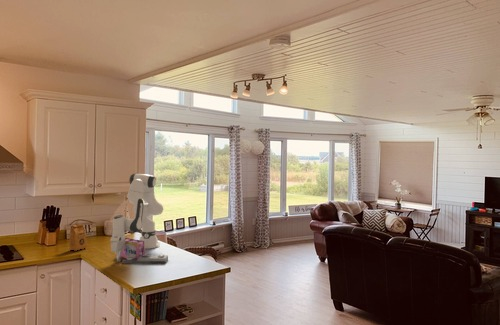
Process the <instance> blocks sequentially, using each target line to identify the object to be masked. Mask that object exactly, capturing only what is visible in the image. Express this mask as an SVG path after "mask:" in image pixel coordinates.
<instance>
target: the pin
mask: <svg viewBox="0 0 500 325" xmlns="http://www.w3.org/2000/svg"><path fill="white" fill-rule="evenodd" d="M116 262H117V263H119V262H122V257H121V249H120V250H119V256H116Z"/></svg>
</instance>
